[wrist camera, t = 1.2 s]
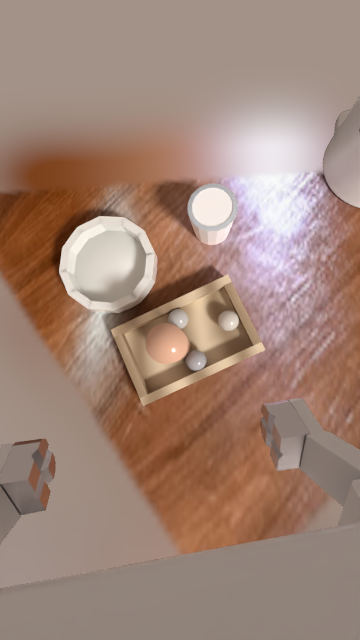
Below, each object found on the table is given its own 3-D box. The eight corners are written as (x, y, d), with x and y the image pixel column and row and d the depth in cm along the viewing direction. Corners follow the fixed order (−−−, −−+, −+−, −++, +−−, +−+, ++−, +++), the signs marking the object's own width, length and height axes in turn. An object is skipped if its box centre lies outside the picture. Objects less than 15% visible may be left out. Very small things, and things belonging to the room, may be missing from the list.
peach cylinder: (182, 324, 46) (175, 316, 36) (195, 353, 45) (192, 353, 36) (153, 338, 46) (139, 333, 36) (166, 367, 46) (155, 370, 36)
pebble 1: (162, 316, 46) (179, 309, 47) (171, 334, 45) (188, 326, 46) (167, 310, 43) (185, 303, 44) (176, 329, 43) (194, 321, 44)
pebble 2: (180, 355, 45) (198, 347, 46) (188, 374, 45) (206, 366, 46) (184, 353, 42) (203, 345, 43) (193, 373, 42) (212, 365, 43)
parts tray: (226, 279, 47) (227, 274, 44) (261, 349, 45) (265, 349, 43) (116, 331, 48) (110, 329, 45) (146, 402, 46) (143, 405, 43)
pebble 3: (232, 308, 46) (234, 305, 43) (241, 326, 45) (243, 324, 42) (214, 317, 46) (214, 314, 43) (223, 335, 45) (224, 333, 42)
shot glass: (194, 204, 49) (192, 179, 42) (237, 210, 48) (242, 186, 41) (186, 245, 48) (182, 226, 41) (229, 252, 48) (232, 234, 41)
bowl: (135, 210, 50) (130, 200, 46) (171, 289, 48) (169, 284, 45) (56, 248, 50) (46, 241, 47) (89, 327, 48) (81, 326, 45)
